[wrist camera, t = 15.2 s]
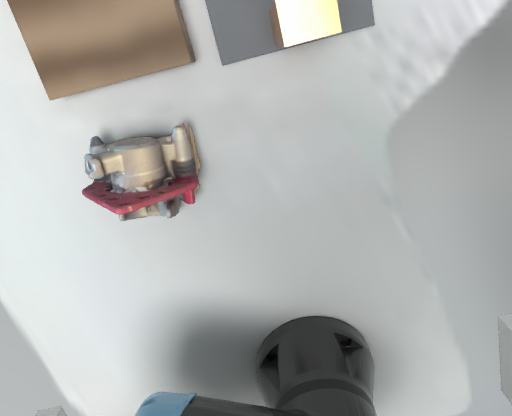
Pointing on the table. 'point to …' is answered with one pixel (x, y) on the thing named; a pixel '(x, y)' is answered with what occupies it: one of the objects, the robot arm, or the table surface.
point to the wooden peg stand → (100, 40)
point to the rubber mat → (268, 26)
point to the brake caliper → (144, 174)
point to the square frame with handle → (303, 20)
